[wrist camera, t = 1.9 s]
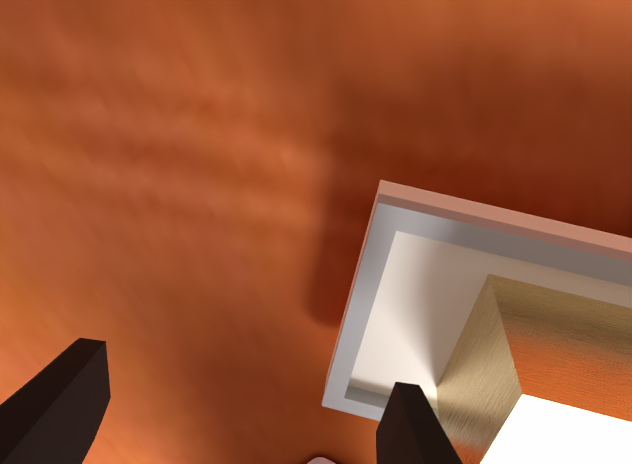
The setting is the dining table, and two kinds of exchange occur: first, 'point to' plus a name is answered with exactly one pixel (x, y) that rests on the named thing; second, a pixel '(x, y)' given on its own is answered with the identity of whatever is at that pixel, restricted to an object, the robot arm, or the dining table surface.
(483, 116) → the dining table surface
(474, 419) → the brass bar
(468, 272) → the beam
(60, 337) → the dining table surface
